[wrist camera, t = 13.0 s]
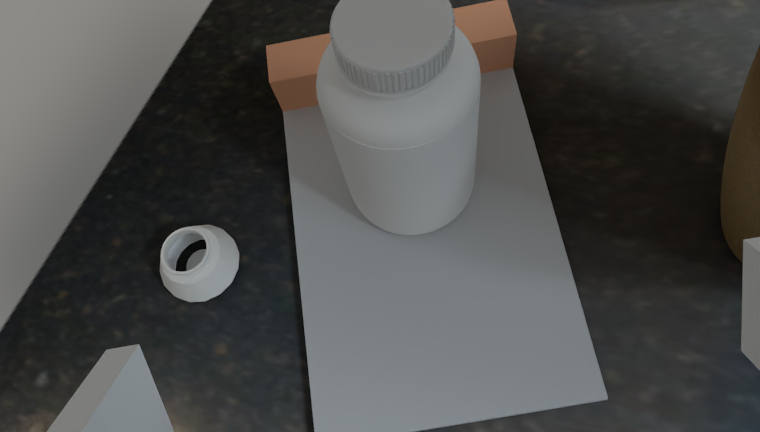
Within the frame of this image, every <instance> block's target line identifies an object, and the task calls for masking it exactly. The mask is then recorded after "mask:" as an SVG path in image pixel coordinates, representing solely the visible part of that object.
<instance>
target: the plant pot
mask: <svg viewBox="0 0 760 432" xmlns="http://www.w3.org/2000/svg"><path fill="white" fill-rule="evenodd" d="M721 225H722V230H723V234H724V236H725V239H726V242H727V243H728V245H729V247H730V249H731V250H732V252H733V253H734V255H735V256H736V257H737V258H738V259H739V260H740V261H741V262H742V263H743V240H745V239H750V238H756V237H760V46H759V48H758V51H757V53H756V56H755V58H754V61H753V63H752V66H751V68H750V71H749V74H748V76H747V79H746V82H745V85H744V88H743V91H742V94H741V97H740V100H739V103H738V106H737V110H736V113H735V117H734V121H733V124H732V128H731V132H730V136H729V141H728V145H727V150H726V155H725V161H724V168H723V175H722V184H721Z"/></svg>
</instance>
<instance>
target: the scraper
mask: <svg viewBox="0 0 760 432" xmlns="http://www.w3.org/2000/svg"><path fill="white" fill-rule="evenodd" d="M453 13H454V16H455V25H456V26H457V27H458V28H459V29H460V30H461V31H462V32H463V34H464V35H465V36H466V37H467V39H468V40H469V42H470V43H471V45H472V47H473V49H474V51H475V54H476V56H477V59H478V62H479V66H480V75H481V86H480V103H479V119H478V136H477V152H476V168H475V181H474V186H473V189H472V193H471V196H470V198H469V200H468V202H467V204H466V206H465V207H464V209H463V210H462V211H461V212H460V214H459V215H458V216H457V217H456V218H455V219H453V220H452V221H451V222H450V223H448V224H447V225H445V226H443V227H442V228H440V229H437V230H435V231H432V232H429V233H425V234H420V235H400V234H395V233H391V232H388V231H385V230H383V229H381V228H379V227H377V226H376V225H374V224H373V223H371V222H370V221H369V220H368V219H367V218H366V217H365V216H364V215H363V214H362V213H361V212H360V210H359V209H358V207H357V206H356V204H355V203H354V201H353V199H352V196H351V194H350V191H349V188H348V185H347V182H346V180H345V177H344V174H343V171H342V168H341V166H340V163H339V160H338V157H337V154H336V152H335V149H334V146H333V143H332V140H331V138H330V135H329V132H328V129H327V126H326V124H325V121H324V118H323V115H322V112H321V109H320V106H319V103H318V98H317V92H316V80H317V73H318V68H319V64H320V61H321V58H322V56H323V53H324V51H325V50H326V48H327V46H328V45H329V43H330V42H331V38H330V33H328V34H323V35H318V36H313V37H308V38H302V39H297V40H292V41H287V42H282V43H277V44H272V45H267V46H266V53H267V64H268V75H269V83H270V85H271V88H272V90H273V92H274V94H275V96H276V98H277V100H278V102H279V104H280V107H281V109H282V111H283V117H284V128H285V138H286V148H287V158H288V168H289V178H290V189H291V199H292V209H293V219H294V229H295V240H296V250H297V260H298V270H299V280H300V290H301V301H302V311H303V321H304V331H305V341H306V351H307V362H308V372H309V382H310V392H311V402H312V412H313V423H314V432H417V431H423V430H429V429H435V428H441V427H447V426H453V425H459V424H465V423H471V422H477V421H483V420H489V419H495V418H501V417H507V416H513V415H520V414H526V413H532V412H538V411H544V410H550V409H556V408H562V407H568V406H574V405H580V404H586V403H592V402H598V401H604V400H607V399H608V396H607V393H606V389H605V386H604V382H603V379H602V375H601V372H600V368H599V365H598V362H597V358H596V355H595V351H594V348H593V344H592V341H591V337H590V334H589V330H588V327H587V323H586V320H585V316H584V313H583V310H582V306H581V303H580V299H579V296H578V292H577V289H576V285H575V282H574V278H573V275H572V271H571V268H570V264H569V261H568V258H567V254H566V251H565V247H564V244H563V240H562V237H561V233H560V230H559V226H558V223H557V219H556V216H555V212H554V209H553V206H552V202H551V199H550V195H549V192H548V188H547V185H546V181H545V178H544V174H543V171H542V167H541V164H540V160H539V157H538V153H537V150H536V147H535V143H534V140H533V136H532V133H531V129H530V126H529V122H528V119H527V115H526V112H525V108H524V105H523V101H522V98H521V95H520V91H519V88H518V84H517V81H516V77H515V74H514V70H513V62H514V54H515V47H516V39H517V32H516V29H515V26H514V22H513V19H512V16H511V12H510V9H509V6H508V2H507V0H495V1H490V2H485V3H480V4H475V5H470V6H464V7H459V8H454V9H453Z"/></svg>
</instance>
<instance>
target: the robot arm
mask: <svg viewBox="0 0 760 432" xmlns="http://www.w3.org/2000/svg"><path fill="white" fill-rule="evenodd" d="M741 351H742V352H743V353H744V354H745V355H746V357H747V358H748V359H749V360H750V361H751V362H752V363H753V364H754V365H755V366H756V367H757V368H758V369H759V370H760V237H756V238H750V239H745V240H743V280H742V332H741ZM47 432H174V430H173V428H172V425H171V423H170V420H169V418H168V415H167V413H166V410H165V408H164V405H163V403H162V400H161V398H160V395H159V393H158V390H157V388H156V385H155V383H154V380H153V378H152V375H151V373H150V370H149V368H148V365H147V363H146V360H145V358H144V355H143V353H142V350H141V348H140V345H139V344H137V345H131V346H125V347H120V348H114V349H108V350H106V351H105V352H104V354H103V355H102V357H101V358H100V359H99V361H98V362H97V363H96V365H95V366H94V368H93V369H92V370H91V372H90V373H89V374H88V376H87V377H86V378H85V380H84V381H83V383H82V384H81V385H80V387H79V388H78V389H77V391H76V392H75V394H74V395H73V396H72V398H71V399H70V400H69V402H68V403H67V405H66V406H65V407H64V409H63V410H62V411H61V413H60V414H59V415H58V417H57V418H56V420H55V421H54V422H53V424H52V425H51V426H50V428H49V429H48V431H47Z"/></svg>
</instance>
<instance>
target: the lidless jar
mask: <svg viewBox="0 0 760 432" xmlns="http://www.w3.org/2000/svg"><path fill="white" fill-rule="evenodd" d="M204 239H205V242H206V249H202V250H198V251H196V252H195V253H193V254H192V255H191V256H190V258H189V259H188V261H187V266H186V269H187V271H182V272H180V271H176V262H177V260H178V258H179V256H180V254H181V252H182V251H183V250H184V249H185V248H186V247H187V246H188V245H189V244H192V243H194V242H196V241H198V240H204ZM238 268H239V251H238V248H237V246H236V243H235V241H234V239H233V238H232V237H231V236H229V235H228V234H227V233H226V232H225V231H224V230H223V229H221V228H218V227H215V226H212V225H199V226H190V227H184V228H181V229H178V230H176V231H174V232H173V233H172V234H170V235H169V236H168V237H167V239H166V240H165V242H164V243H163V246H162V249H161V260H160V274H161V277H162V281H163V284H164V286H165V287H166V288H167V289H168V290H169V291H170V292H171V293H172V294H173V295H174V296H175V297H177V298H179V299H182V300H185V301H188V302H203V301H207V300H209V299H211V298H214V297H216V296H218V295H220V294H221V293H222V292H223V291H224V290H225V289H226V288H227V287H228V286H229V285H230V284H231V283H232V281H233V279H234V277H235V275H236V273H237V271H238Z"/></svg>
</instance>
